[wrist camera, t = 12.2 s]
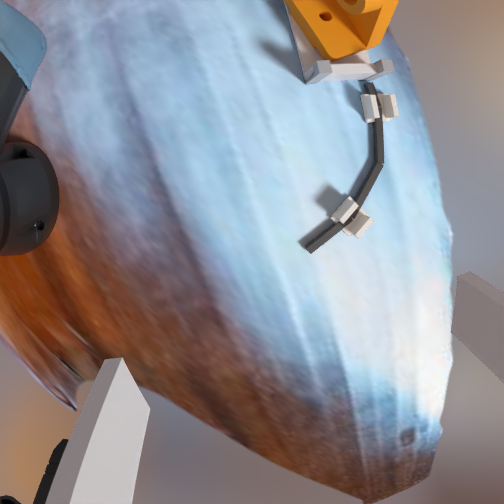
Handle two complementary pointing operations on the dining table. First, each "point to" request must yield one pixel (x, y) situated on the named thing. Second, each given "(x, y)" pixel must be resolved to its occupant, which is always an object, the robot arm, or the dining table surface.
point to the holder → (338, 70)
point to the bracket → (342, 24)
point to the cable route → (350, 210)
